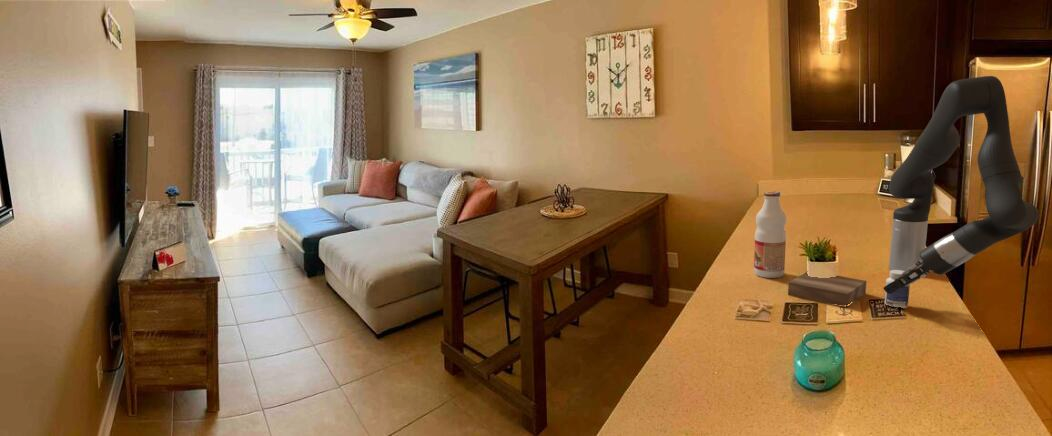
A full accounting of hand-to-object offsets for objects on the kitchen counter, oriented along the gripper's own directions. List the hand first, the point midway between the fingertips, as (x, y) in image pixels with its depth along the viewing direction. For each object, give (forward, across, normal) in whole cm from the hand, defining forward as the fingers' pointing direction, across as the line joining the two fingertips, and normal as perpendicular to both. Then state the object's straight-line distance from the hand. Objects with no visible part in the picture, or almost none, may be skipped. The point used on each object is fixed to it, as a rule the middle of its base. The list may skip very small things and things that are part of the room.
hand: (889, 287), depth 148 cm
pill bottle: (+2, 0, +5) cm, 5 cm away
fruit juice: (+29, -6, -22) cm, 37 cm away
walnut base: (+14, +2, -7) cm, 16 cm away
